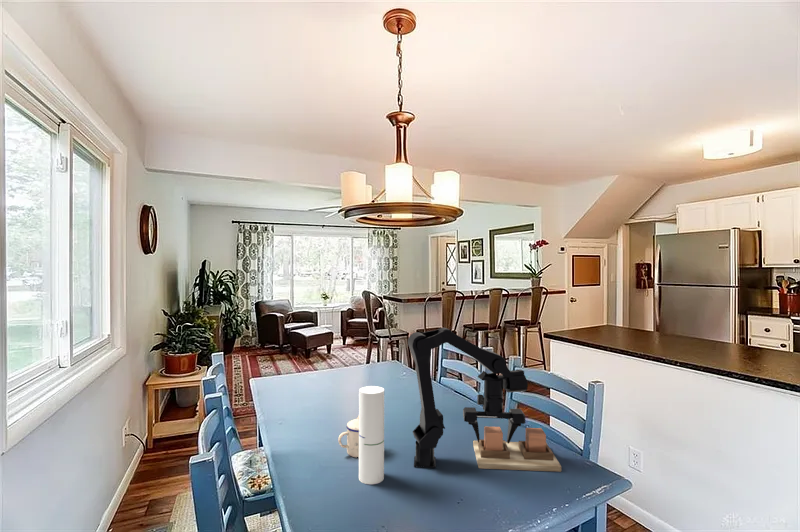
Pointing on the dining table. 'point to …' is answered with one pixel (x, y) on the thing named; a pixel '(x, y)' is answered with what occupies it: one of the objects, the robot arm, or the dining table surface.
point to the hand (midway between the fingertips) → (493, 442)
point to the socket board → (519, 454)
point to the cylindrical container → (371, 434)
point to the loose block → (493, 438)
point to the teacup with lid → (351, 438)
